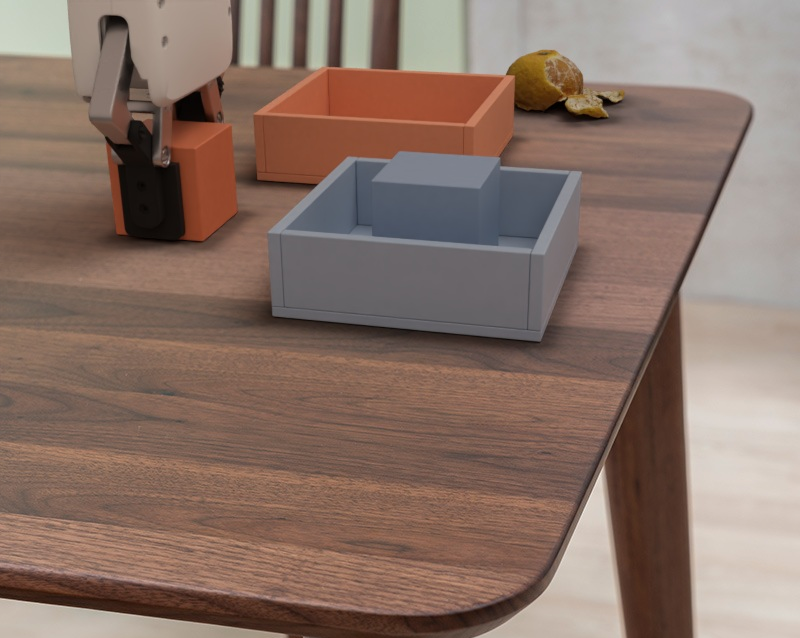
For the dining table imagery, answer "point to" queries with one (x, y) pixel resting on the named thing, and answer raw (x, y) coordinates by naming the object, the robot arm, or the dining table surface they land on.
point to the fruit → (555, 85)
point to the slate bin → (426, 259)
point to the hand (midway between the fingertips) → (177, 215)
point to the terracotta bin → (380, 119)
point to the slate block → (437, 198)
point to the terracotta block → (195, 176)
